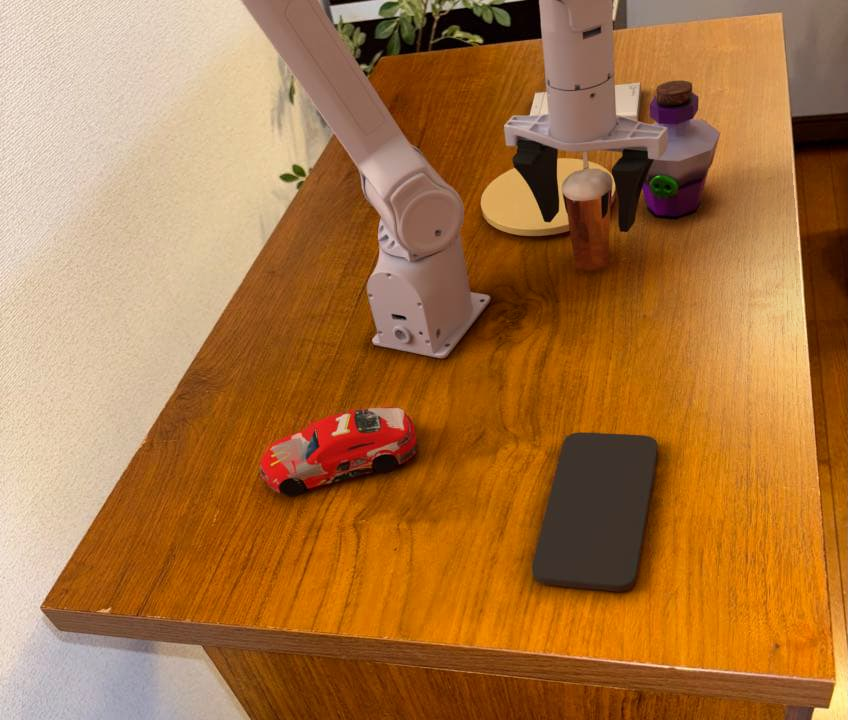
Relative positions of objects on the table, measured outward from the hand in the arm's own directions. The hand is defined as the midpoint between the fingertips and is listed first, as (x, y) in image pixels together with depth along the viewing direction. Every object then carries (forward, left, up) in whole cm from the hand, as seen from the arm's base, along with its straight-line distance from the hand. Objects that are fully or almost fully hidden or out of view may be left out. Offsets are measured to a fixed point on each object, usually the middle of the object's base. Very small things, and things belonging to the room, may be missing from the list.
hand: (588, 221), depth 92 cm
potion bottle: (+11, -4, -4) cm, 13 cm away
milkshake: (0, 0, -4) cm, 4 cm away
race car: (-32, +8, -4) cm, 34 cm away
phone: (-30, -14, -4) cm, 34 cm away
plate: (+9, +8, -4) cm, 13 cm away
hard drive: (+28, +12, -4) cm, 31 cm away
